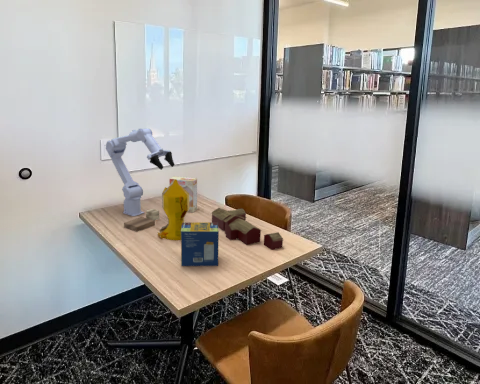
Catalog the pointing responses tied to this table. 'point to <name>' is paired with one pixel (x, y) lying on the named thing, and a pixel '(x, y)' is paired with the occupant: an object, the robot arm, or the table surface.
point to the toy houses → (243, 228)
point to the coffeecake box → (188, 190)
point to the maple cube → (152, 214)
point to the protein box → (199, 244)
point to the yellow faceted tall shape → (174, 210)
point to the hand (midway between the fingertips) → (167, 167)
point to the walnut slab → (139, 224)
